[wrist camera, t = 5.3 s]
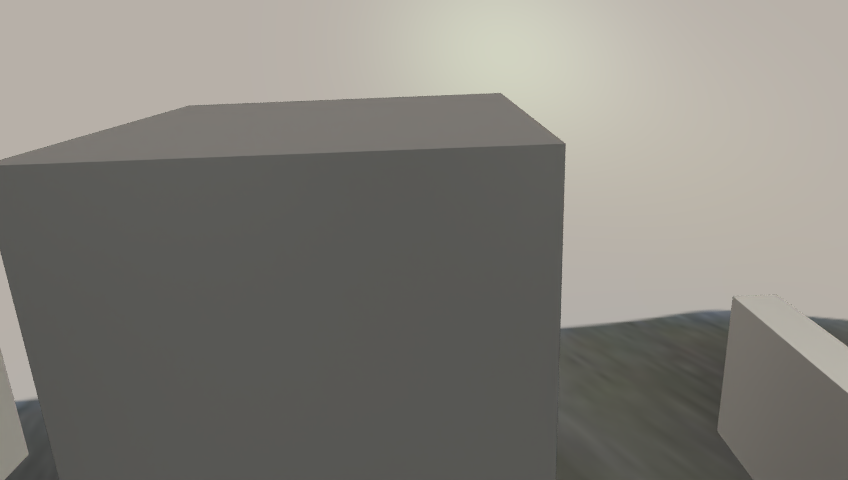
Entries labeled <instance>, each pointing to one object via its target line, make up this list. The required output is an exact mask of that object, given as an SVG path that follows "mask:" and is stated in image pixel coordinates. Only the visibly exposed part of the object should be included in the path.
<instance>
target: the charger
mask: <svg viewBox="0 0 848 480" xmlns="http://www.w3.org/2000/svg"><path fill="white" fill-rule="evenodd" d="M564 179H565V143H564V142H563V141H561V140H560V139H559V138H558V137H556V136H555V135H554V134H552V133H551V132H550V131H549V130H547V129H546V128H545V127H543V126H542V125H541V124H540V123H538V122H537V121H536V120H534V119H533V118H532V117H531V116H529V115H528V114H527V113H525V112H524V111H523V110H522V109H520V108H519V107H518V106H517V105H515V104H514V103H513V102H511V101H510V100H509V99H508V98H506V97H505V96H503V95H502V94H501V93H494V94H467V95H442V96H418V97H393V98H367V99H343V100H319V101H293V102H270V103H269V102H267V103H243V104H219V105H218V104H217V105H195V106H186V107H183V108H179V109H176V110H172V111H169V112H165V113H162V114H158V115H155V116H152V117H148V118H145V119H141V120H137V121H134V122H131V123H127V124H124V125H120V126H117V127H113V128H110V129H106V130H103V131H99V132H96V133H92V134H89V135H86V136H82V137H78V138H75V139H71V140H68V141H65V142H61V143H58V144H55V145H51V146H47V147H44V148H40V149H37V150H33V151H30V152H26V153H23V154H19V155H16V156H12V157H9V158H5V159H2V160H0V251H1V255H2V259H3V263H4V267H5V271H6V275H7V279H8V283H9V287H10V290H11V294H12V298H13V302H14V305H15V310H16V313H17V317H18V321H19V325H20V329H21V333H22V337H23V341H24V344H25V348H26V352H27V356H28V360H29V364H30V368H31V372H32V375H33V380H34V383H35V387H36V391H37V395H38V399H39V403H40V407H41V411H42V414H43V418H44V422H45V426H46V430H47V434H48V438H49V442H50V445H51V449H52V453H53V457H54V461H55V465H56V469H57V473H58V477H59V480H556V459H557V424H558V389H559V354H560V319H561V284H562V283H561V282H562V249H563V248H562V246H563V212H564Z"/></svg>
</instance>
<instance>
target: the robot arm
mask: <svg viewBox="0 0 848 480" xmlns="http://www.w3.org/2000/svg"><path fill="white" fill-rule="evenodd" d="M717 432H718V433H719V434H720V436H721V437H722V438H723V440H724V441H725V443H726V444H727V445H728V447H729V448H730V449H731V451H732V452H733V453H734V455H735V456H736V457H737V459H738V460H739V461H740V463H741V464H742V466H743V467H744V468H745V470H746V471H747V472H748V474H749V475H750V476H751V478H752V479H753V480H848V346H846V345H845V344H843V343H842V342H841V341H839V340H838V339H837V338H835V337H834V336H833V335H831V334H830V333H828V332H827V331H826V330H824V329H823V328H822V327H820V326H819V325H818V324H816V323H815V322H813V321H812V320H811V319H809V318H808V317H807V316H805V315H804V314H803V313H801V312H800V311H798V310H797V309H796V308H794V307H793V306H792V305H790V304H789V303H788V302H786V301H784V300H783V299H782V298H781V297H779V296H778V295H755V296H733V300H732V308H731V317H730V325H729V334H728V342H727V351H726V359H725V368H724V376H723V385H722V393H721V402H720V410H719V419H718V427H717ZM28 455H29V452H28V449H27V445H26V441H25V438H24V434H23V430H22V427H21V423H20V419H19V416H18V412H17V408H16V405H15V401H14V397H13V394H12V390H11V386H10V383H9V379H8V376H7V372H6V368H5V364H4V361H3V357H2V353H1V350H0V480H5V479H6V478H7V477H8V476H9V475H10V474H11V473H12V472H13V471H14V470H15V468H16V467H17V466H18V465H19V464H20V463H21V462H22V461H23V460H24V459H25V458H26V457H27V456H28Z"/></svg>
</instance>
